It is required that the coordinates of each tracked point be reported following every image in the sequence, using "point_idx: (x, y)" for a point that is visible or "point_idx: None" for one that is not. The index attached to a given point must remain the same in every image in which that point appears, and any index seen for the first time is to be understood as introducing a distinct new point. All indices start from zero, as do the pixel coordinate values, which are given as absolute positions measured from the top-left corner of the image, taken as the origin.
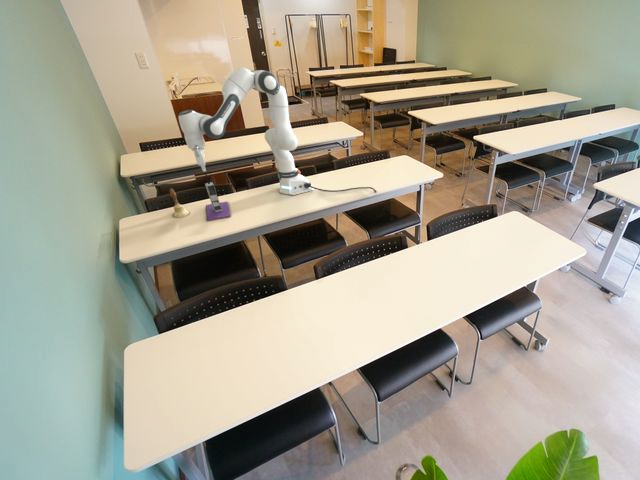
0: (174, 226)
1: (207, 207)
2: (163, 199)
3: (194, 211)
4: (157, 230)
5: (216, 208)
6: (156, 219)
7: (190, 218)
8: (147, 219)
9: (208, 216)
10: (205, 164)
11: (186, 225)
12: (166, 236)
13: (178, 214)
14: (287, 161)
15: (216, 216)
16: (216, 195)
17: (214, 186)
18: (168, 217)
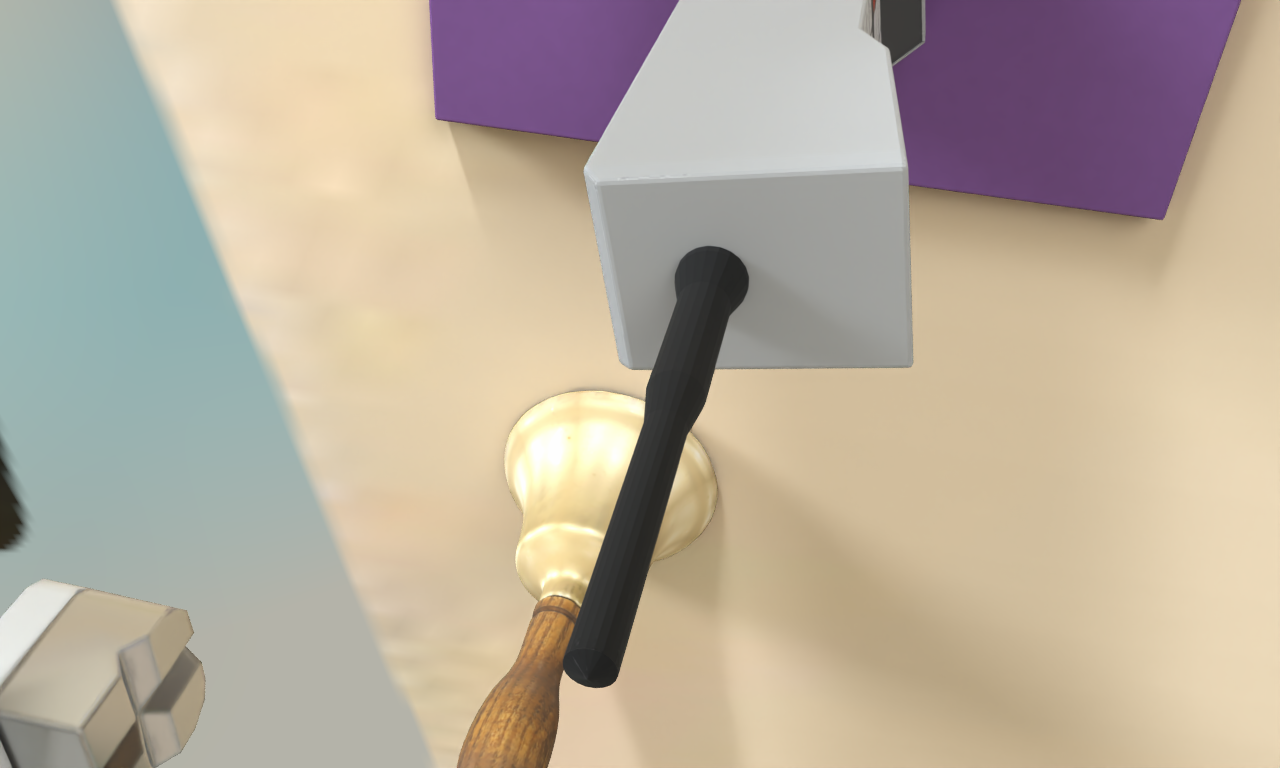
0: (1001, 606)
1: (571, 124)
2: (3, 544)
3: (592, 316)
4: (985, 747)
5: (902, 15)
6: (630, 698)
7: (848, 409)
8: (579, 753)
9: (1024, 183)
10: (78, 627)
11: (1086, 495)
12: (1265, 720)
13: (681, 533)
14: None
15: (1139, 51)
16: (864, 28)
17: (901, 128)
18: None
